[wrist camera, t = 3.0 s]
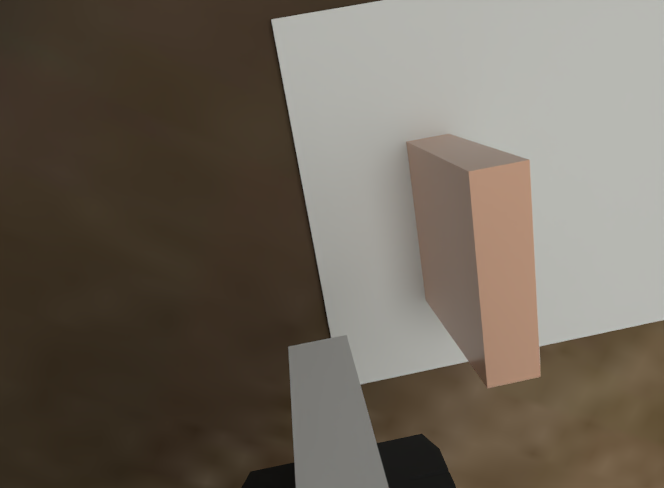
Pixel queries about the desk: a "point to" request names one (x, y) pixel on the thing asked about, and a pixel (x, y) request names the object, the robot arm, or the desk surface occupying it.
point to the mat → (490, 130)
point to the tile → (478, 252)
